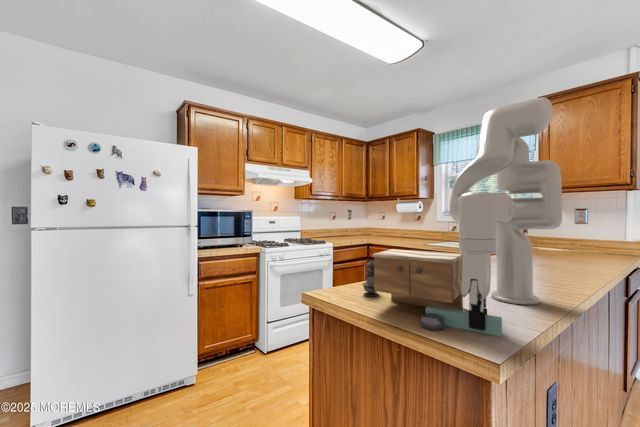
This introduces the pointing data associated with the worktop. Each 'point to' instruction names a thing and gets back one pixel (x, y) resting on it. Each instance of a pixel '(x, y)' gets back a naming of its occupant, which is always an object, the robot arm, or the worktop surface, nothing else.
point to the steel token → (432, 321)
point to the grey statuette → (370, 281)
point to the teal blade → (466, 320)
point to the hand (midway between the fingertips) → (478, 326)
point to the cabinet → (420, 277)
